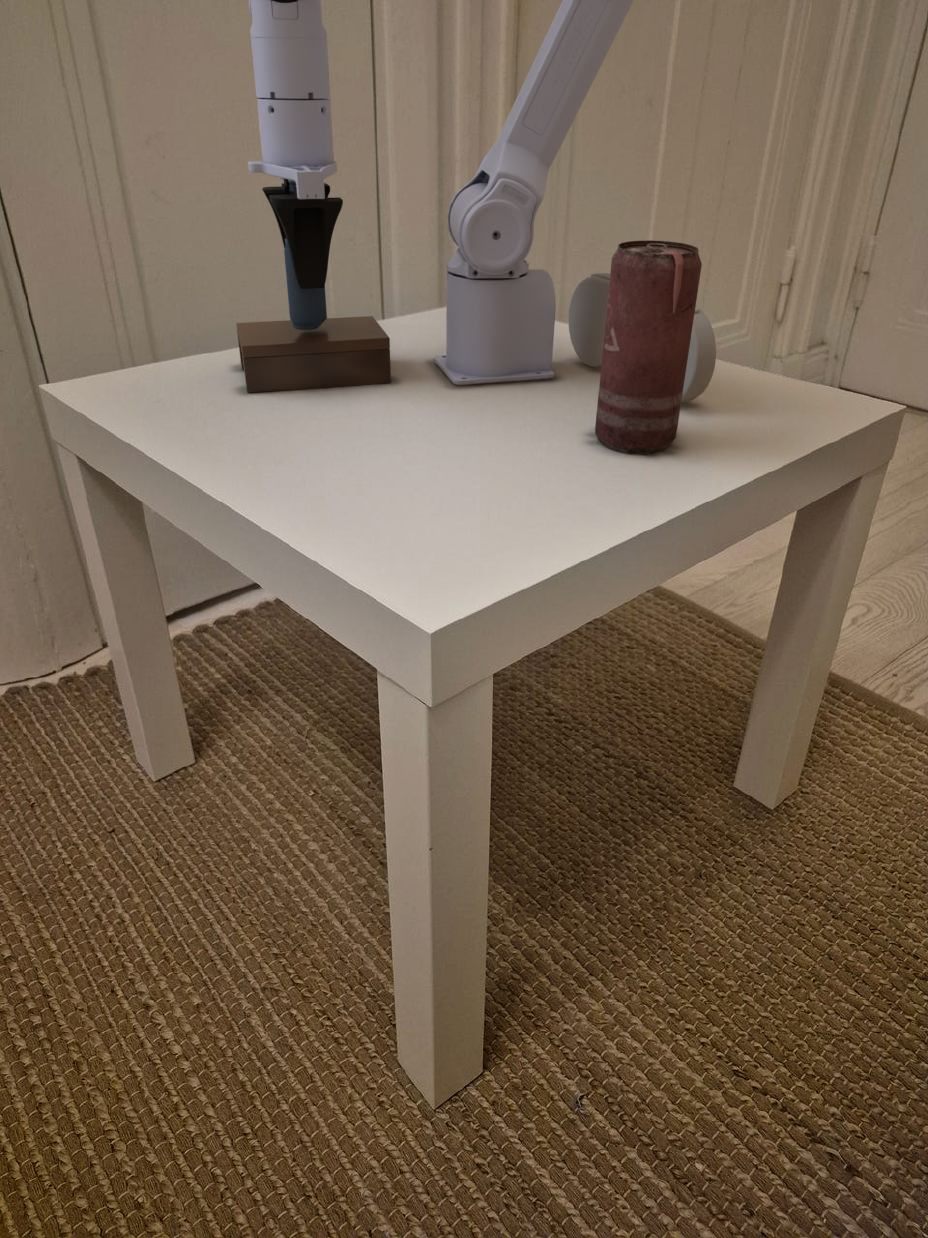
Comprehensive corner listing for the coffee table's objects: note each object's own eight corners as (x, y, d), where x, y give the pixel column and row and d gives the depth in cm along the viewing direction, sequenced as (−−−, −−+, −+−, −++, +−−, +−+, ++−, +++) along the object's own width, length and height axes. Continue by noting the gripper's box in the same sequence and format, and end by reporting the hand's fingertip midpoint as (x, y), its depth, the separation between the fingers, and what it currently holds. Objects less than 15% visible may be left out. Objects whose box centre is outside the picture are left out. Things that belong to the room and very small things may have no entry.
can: (627, 462, 64) (652, 256, 57) (578, 434, 69) (595, 240, 62) (693, 449, 67) (725, 250, 59) (641, 422, 71) (665, 235, 64)
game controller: (710, 412, 74) (727, 309, 69) (688, 416, 73) (704, 312, 69) (584, 352, 89) (591, 264, 84) (564, 355, 88) (571, 266, 83)
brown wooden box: (374, 358, 86) (372, 315, 84) (391, 382, 79) (389, 337, 77) (241, 366, 83) (236, 322, 81) (247, 392, 76) (241, 346, 74)
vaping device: (330, 316, 81) (321, 169, 74) (317, 331, 76) (305, 176, 70) (302, 315, 81) (291, 168, 75) (287, 330, 77) (273, 175, 70)
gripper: (236, 94, 75) (254, 266, 82) (248, 102, 63) (268, 301, 70) (320, 95, 76) (330, 263, 83) (347, 102, 64) (356, 297, 72)
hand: (307, 280), depth 77 cm, fingers closed on vaping device, 5 cm apart
